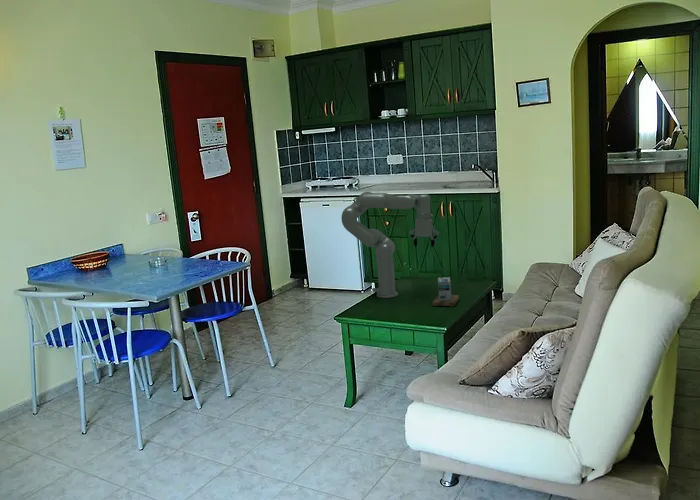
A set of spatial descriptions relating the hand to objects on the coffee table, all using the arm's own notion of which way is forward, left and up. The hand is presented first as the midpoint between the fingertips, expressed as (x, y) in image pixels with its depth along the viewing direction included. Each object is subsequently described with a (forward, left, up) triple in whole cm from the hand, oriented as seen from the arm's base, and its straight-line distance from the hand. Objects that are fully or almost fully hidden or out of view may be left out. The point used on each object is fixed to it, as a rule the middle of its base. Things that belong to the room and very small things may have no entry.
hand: (424, 246), depth 346 cm
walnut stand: (+14, -15, -29) cm, 36 cm away
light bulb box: (+14, -15, -26) cm, 33 cm away
